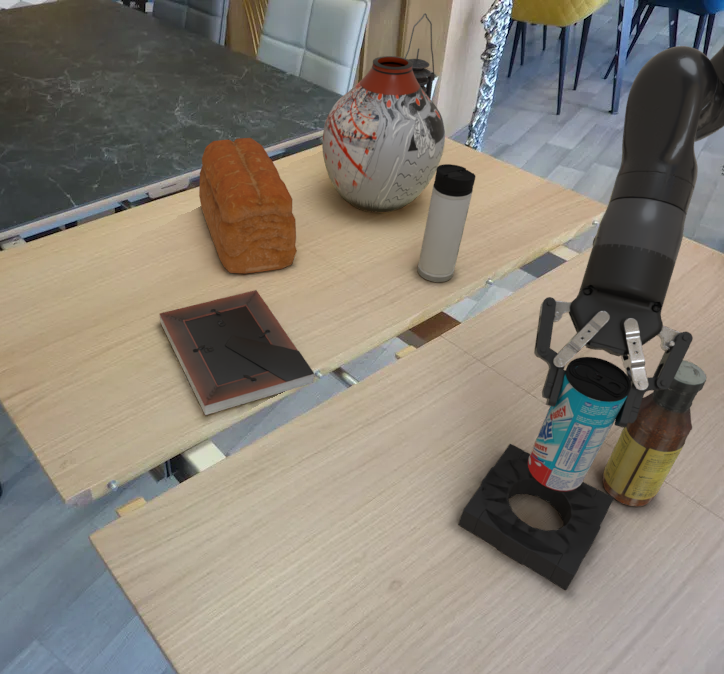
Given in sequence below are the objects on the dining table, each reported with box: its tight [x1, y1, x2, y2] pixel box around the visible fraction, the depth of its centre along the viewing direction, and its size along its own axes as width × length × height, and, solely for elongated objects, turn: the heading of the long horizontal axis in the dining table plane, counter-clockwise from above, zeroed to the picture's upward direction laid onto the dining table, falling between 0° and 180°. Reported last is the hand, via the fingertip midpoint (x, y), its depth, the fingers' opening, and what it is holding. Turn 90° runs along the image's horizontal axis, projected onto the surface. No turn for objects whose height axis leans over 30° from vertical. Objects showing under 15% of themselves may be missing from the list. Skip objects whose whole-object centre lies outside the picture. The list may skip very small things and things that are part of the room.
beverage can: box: [528, 356, 631, 493], centre depth 69 cm, size 6×6×15 cm
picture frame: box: [158, 289, 315, 416], centre depth 100 cm, size 16×2×22 cm
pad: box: [458, 443, 615, 591], centre depth 79 cm, size 13×13×3 cm
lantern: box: [404, 13, 436, 100], centre depth 146 cm, size 12×11×30 cm
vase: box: [321, 55, 446, 214], centre depth 128 cm, size 23×23×28 cm
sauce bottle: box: [602, 359, 707, 508], centre depth 77 cm, size 6×6×20 cm
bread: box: [198, 137, 298, 275], centre depth 122 cm, size 14×27×15 cm, turn 15°
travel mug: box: [417, 163, 476, 283], centre depth 112 cm, size 6×7×20 cm
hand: (585, 415), depth 66 cm, fingers closed on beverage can, 6 cm apart
